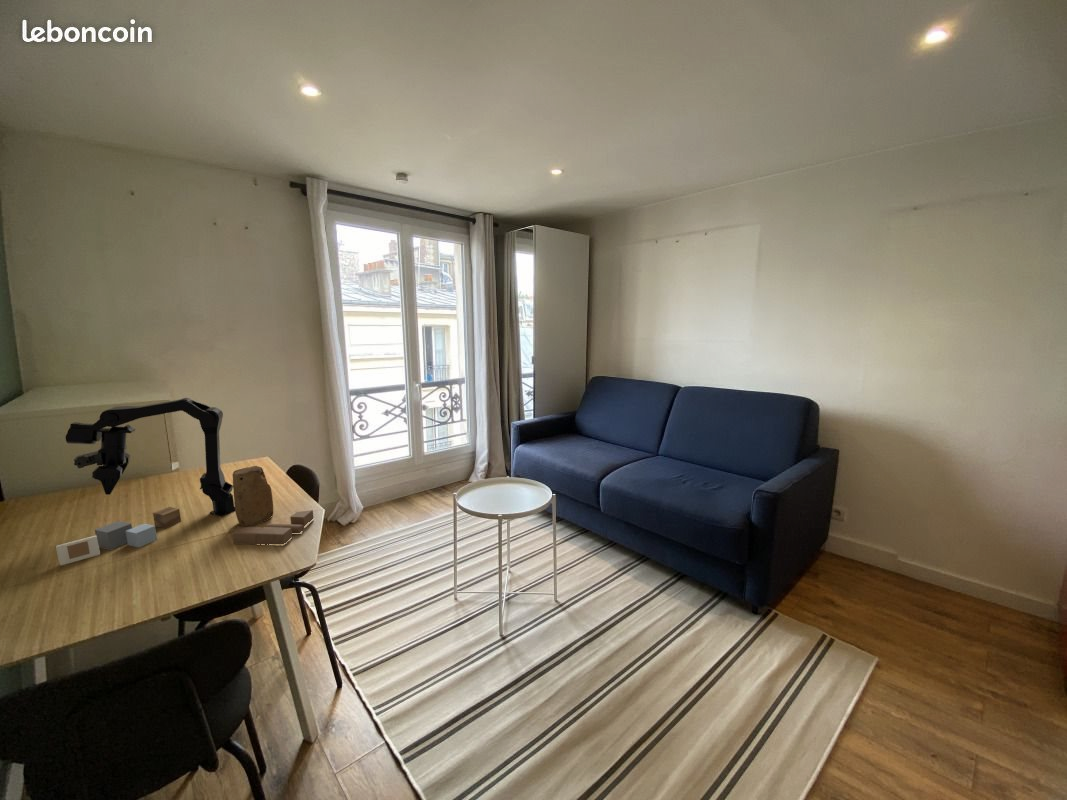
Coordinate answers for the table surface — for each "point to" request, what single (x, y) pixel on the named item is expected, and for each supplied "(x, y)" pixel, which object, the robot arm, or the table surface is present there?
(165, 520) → the walnut cube
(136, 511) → the table surface
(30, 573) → the table surface
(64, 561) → the placard
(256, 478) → the block
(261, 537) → the wooden block set
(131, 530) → the slate cube
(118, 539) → the base block
